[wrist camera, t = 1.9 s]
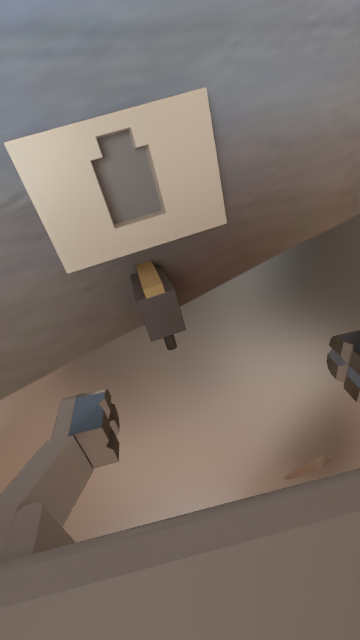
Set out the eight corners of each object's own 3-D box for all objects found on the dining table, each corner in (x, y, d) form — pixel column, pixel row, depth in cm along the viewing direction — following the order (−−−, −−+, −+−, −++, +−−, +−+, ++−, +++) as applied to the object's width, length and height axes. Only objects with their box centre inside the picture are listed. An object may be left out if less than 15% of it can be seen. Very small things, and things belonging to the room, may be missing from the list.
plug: (176, 318, 39) (191, 350, 32) (149, 327, 39) (158, 362, 32) (158, 258, 35) (172, 280, 28) (127, 267, 34) (133, 293, 27)
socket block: (216, 218, 34) (227, 223, 31) (70, 264, 33) (67, 273, 30) (195, 95, 28) (206, 87, 25) (15, 145, 26) (3, 142, 23)
